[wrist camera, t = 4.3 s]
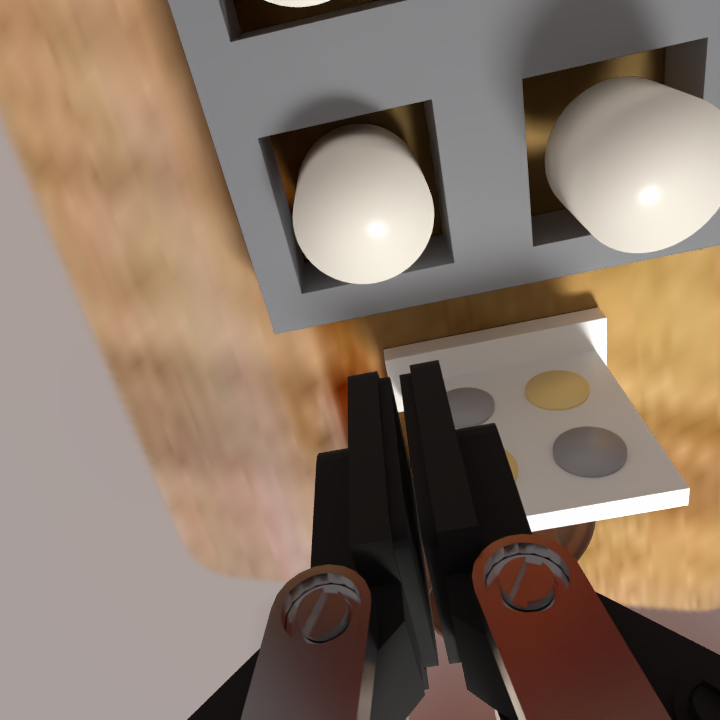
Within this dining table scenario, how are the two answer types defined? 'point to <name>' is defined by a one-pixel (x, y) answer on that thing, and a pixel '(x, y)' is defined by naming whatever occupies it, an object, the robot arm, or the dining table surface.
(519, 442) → the card
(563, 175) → the button
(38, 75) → the dining table surface
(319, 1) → the button
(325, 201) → the button
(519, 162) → the button board
